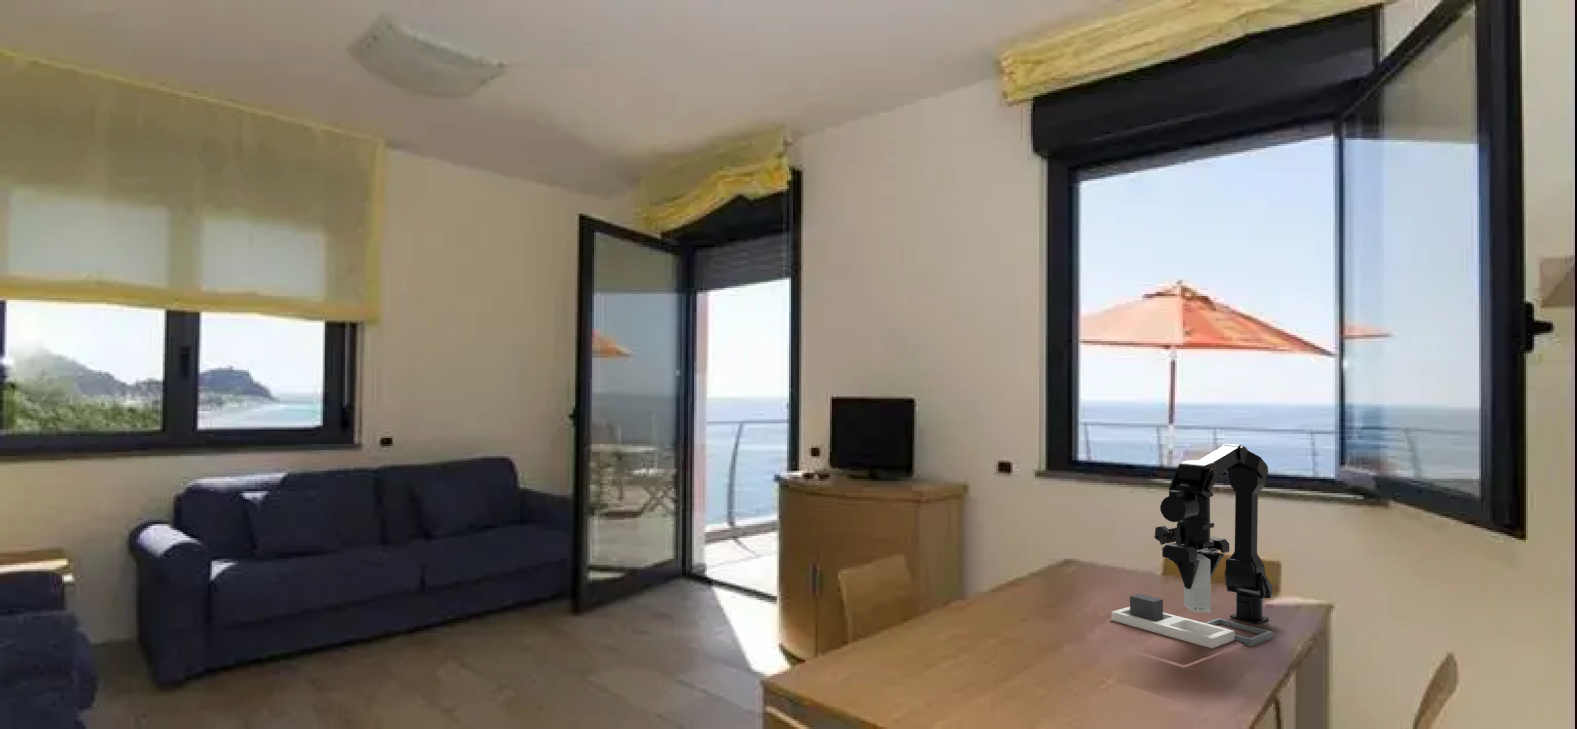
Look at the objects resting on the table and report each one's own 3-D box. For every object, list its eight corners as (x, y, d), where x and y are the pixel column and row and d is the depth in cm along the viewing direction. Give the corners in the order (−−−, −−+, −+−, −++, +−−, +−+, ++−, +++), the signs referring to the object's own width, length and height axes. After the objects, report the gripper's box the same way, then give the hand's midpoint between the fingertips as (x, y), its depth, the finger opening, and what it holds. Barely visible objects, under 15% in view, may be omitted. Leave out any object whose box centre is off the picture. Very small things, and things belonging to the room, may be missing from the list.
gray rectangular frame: (1218, 624, 188) (1218, 618, 188) (1272, 638, 178) (1272, 631, 178) (1196, 631, 182) (1196, 625, 182) (1251, 646, 172) (1251, 639, 172)
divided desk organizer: (1134, 615, 195) (1134, 605, 195) (1234, 641, 175) (1234, 630, 175) (1111, 621, 189) (1111, 611, 189) (1211, 650, 169) (1211, 638, 169)
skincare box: (1211, 613, 174) (1211, 559, 174) (1191, 612, 175) (1190, 558, 175) (1202, 605, 180) (1202, 553, 180) (1183, 604, 181) (1182, 552, 181)
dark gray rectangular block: (1139, 618, 191) (1139, 593, 191) (1163, 624, 186) (1162, 599, 186) (1130, 620, 188) (1129, 595, 188) (1153, 627, 183) (1153, 601, 184)
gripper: (1182, 508, 190) (1183, 573, 189) (1139, 516, 179) (1140, 584, 179) (1230, 515, 181) (1230, 583, 180) (1187, 523, 170) (1188, 595, 170)
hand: (1196, 586), depth 177 cm, fingers closed on skincare box, 7 cm apart
